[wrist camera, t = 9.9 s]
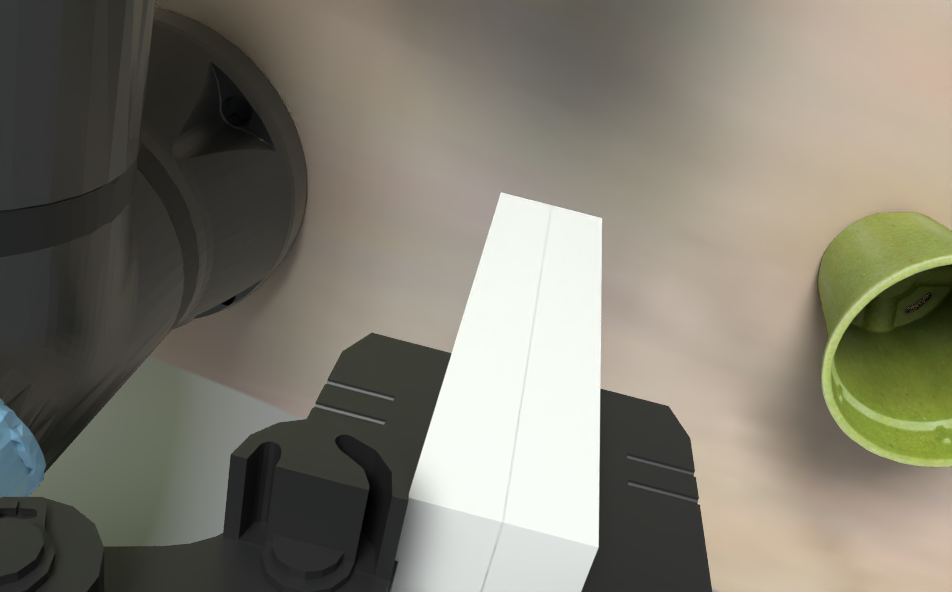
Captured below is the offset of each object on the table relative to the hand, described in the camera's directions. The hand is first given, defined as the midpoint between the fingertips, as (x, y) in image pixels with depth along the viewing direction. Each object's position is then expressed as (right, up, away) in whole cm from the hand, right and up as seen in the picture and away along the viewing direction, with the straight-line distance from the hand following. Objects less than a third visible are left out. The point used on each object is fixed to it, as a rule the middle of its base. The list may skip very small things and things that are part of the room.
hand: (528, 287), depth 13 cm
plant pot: (+18, +1, +27) cm, 33 cm away
